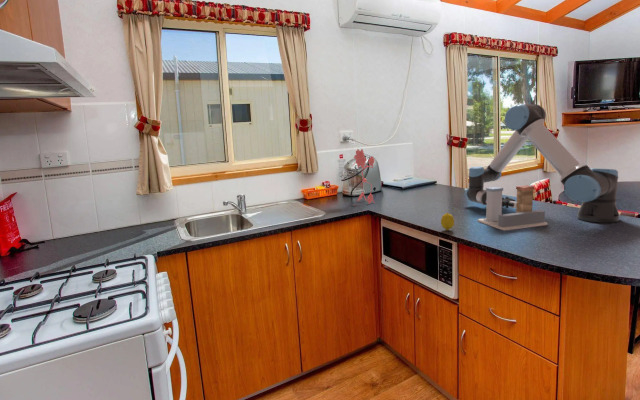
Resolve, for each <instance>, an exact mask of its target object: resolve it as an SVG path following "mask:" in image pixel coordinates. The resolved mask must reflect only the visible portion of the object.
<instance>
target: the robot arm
mask: <svg viewBox="0 0 640 400" xmlns="http://www.w3.org/2000/svg"><path fill="white" fill-rule="evenodd" d="M546 118H547V113H546V110H545V109H544V107H543V106H541V105H540V104H538V103H537V104H536V103H531V104H529V103H528V104H527V103H525V104H523V103H519V104H515V105H512V106H511V107H510V108H509V109H508V110H507V111H506V113H505V115H504V124H505V126H506V127H507V128H508V129H509V130H510V131H514V132H513V133H512V134H511V135H510V137H509V138H508V139H507V141H506V142H505V144H504V145H502V147H501V149H500V150H499V151H498V152H497V154H496V155H495V157H493V159H492V160H491V162H490V163H489V164H488V166H487V167H486V168H484V167H483V166H471V167H470V168H469V169H468V171H469V172H468V188H466V189H465V191H464V197H465V198H466V200H469V201H471V202H474V203H477V204H481V205H483V206H486V201H487V191H486V189H484V186H485V185H484V184H486V183H491V182H496V181H498V180H500V178H501V177H502V172H503V171H504V169H505V168H506V167H507V166H508V165H509V163H511V161H512V159H513V158H514V157H515V156H516V155H517V153H518V152H519V151H520V150H521V149H522V147H523V146H524V145H525V144H526V143H527V141H529V142H530V143H531V144H532V145H533V146H534V148H536V150H537V151H538V152H539V154H540V155H541V156H542V157H543V158H544V159H545V160H546V161H547V162H548V163H549V164H550V165H551V167H552V168H553V169H554V170H555V171H556V172H557V173H558V175H559V176H560V182H561V184H562V185H563V186H564V187H563V190H564V194H565V195H566V196H567V198H569V199H570V200H572V201H574V202H578V203H581V205H580V207H579V209H578V211H577V216H576V217H577V219H579V220H581V221H585V222H590V223H600V224H602V223H603V224H607V223H608V224H610V223H611V224H612V223H618V222H619V221H620V213H619V210H618V207H617V203H616V200H617V190H618V180H619V171H618V170H617V169H616V168H615V169H614V168H595V167H594V168H592V167H591V168H590V167H589V166H588V165H587V164H582V163H580V162H579V161H578V160H577V158H575V157H574V155H572V153H570V152H569V150H568V148H566V147H565V146H564V145H563V144H562V143H561V142H560V141H559V140H558V138H556V137H555V135H554V134H553V132H551V131H550V130H549V129H548V128H547V127H546V125H545V121H546ZM516 204H517V199H514V198H511V197H509V196H504V197H503V196H502V208H503V207H505V208H506V209H509V208H513V209H516Z"/></svg>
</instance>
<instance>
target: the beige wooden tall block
mask: <svg viewBox="0 0 640 400" xmlns="http://www.w3.org/2000/svg"><path fill="white" fill-rule="evenodd" d="M515 190H516V202H517V204H516V208H515V213H519V212H527V211H533V204H534V203H533V201H534V199H533V198H534V197H533V196H534V190H535V186H532V185H517V186H515Z"/></svg>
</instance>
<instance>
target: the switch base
mask: <svg viewBox="0 0 640 400" xmlns="http://www.w3.org/2000/svg"><path fill="white" fill-rule="evenodd" d="M545 214H546V211H545V210H543V209H542V210H541V209H537V210H536V209H535V210H532V211H527V212H519V213H516V212H511V213H505V214H504V213H503V214H501V215H499V219H498V221H490V220H487V219H486V217H485V218H477V222H478V223H481V224H483V225H484V224H485V225H487V226H490V227H493V228H496V229H498V230H501V231H512V230H519V229H525V228H526V229H527V228H534V227H535V228H536V227H541V226H547V225H548V222H546V221H545V218H546V217H545V216H546V215H545Z"/></svg>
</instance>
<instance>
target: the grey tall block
mask: <svg viewBox="0 0 640 400" xmlns="http://www.w3.org/2000/svg"><path fill="white" fill-rule="evenodd" d="M485 190H486V191H487V201H486V205H485V207H486V208H485V210H486V211H485V218H486V219H487V220H490V221H498V219H499V215H502V210H503V209H502V208H503V207H502V197H503V191H504V188H503V187H499V186H492V187H490V186H489V187H485Z"/></svg>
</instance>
